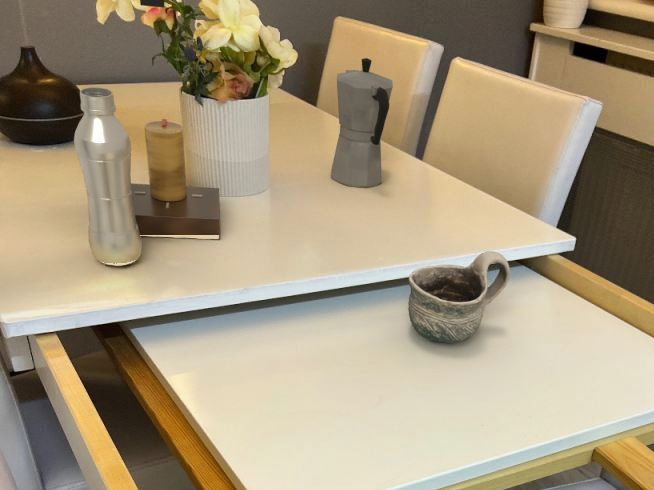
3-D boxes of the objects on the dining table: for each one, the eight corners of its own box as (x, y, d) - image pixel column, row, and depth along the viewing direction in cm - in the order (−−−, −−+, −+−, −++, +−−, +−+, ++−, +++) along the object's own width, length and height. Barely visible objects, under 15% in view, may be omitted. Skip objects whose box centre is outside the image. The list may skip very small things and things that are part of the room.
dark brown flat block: (114, 235, 106) (112, 212, 104) (122, 200, 115) (120, 178, 113) (219, 240, 109) (219, 217, 107) (219, 205, 118) (219, 184, 115)
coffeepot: (316, 164, 135) (323, 46, 123) (367, 162, 138) (377, 47, 126) (349, 199, 125) (360, 75, 113) (402, 196, 128) (418, 75, 116)
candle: (186, 202, 110) (182, 132, 103) (149, 200, 109) (143, 129, 102) (187, 188, 113) (183, 120, 107) (151, 186, 112) (145, 117, 106)
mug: (386, 322, 97) (396, 245, 90) (465, 304, 103) (480, 230, 96) (431, 361, 92) (446, 282, 85) (512, 340, 98) (531, 264, 91)
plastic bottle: (96, 275, 98) (70, 102, 84) (87, 251, 102) (61, 83, 89) (148, 270, 100) (132, 101, 87) (138, 247, 104) (120, 83, 91)
